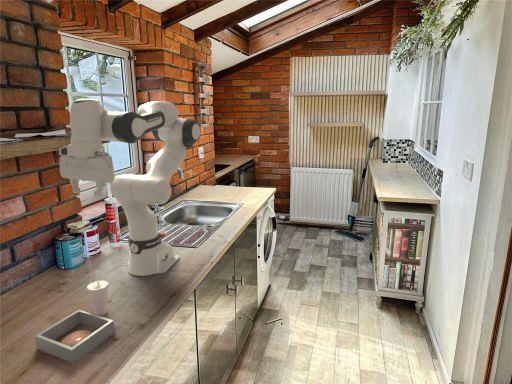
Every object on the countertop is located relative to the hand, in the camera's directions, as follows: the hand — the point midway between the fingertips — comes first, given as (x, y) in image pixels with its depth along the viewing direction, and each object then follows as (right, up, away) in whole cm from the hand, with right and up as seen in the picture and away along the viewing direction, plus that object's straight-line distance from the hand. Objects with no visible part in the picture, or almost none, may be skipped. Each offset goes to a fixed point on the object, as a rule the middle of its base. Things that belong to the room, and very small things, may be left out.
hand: (87, 194), depth 111 cm
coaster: (+3, -41, -12) cm, 43 cm away
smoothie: (+4, -38, +1) cm, 39 cm away
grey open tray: (+3, -41, -12) cm, 43 cm away
